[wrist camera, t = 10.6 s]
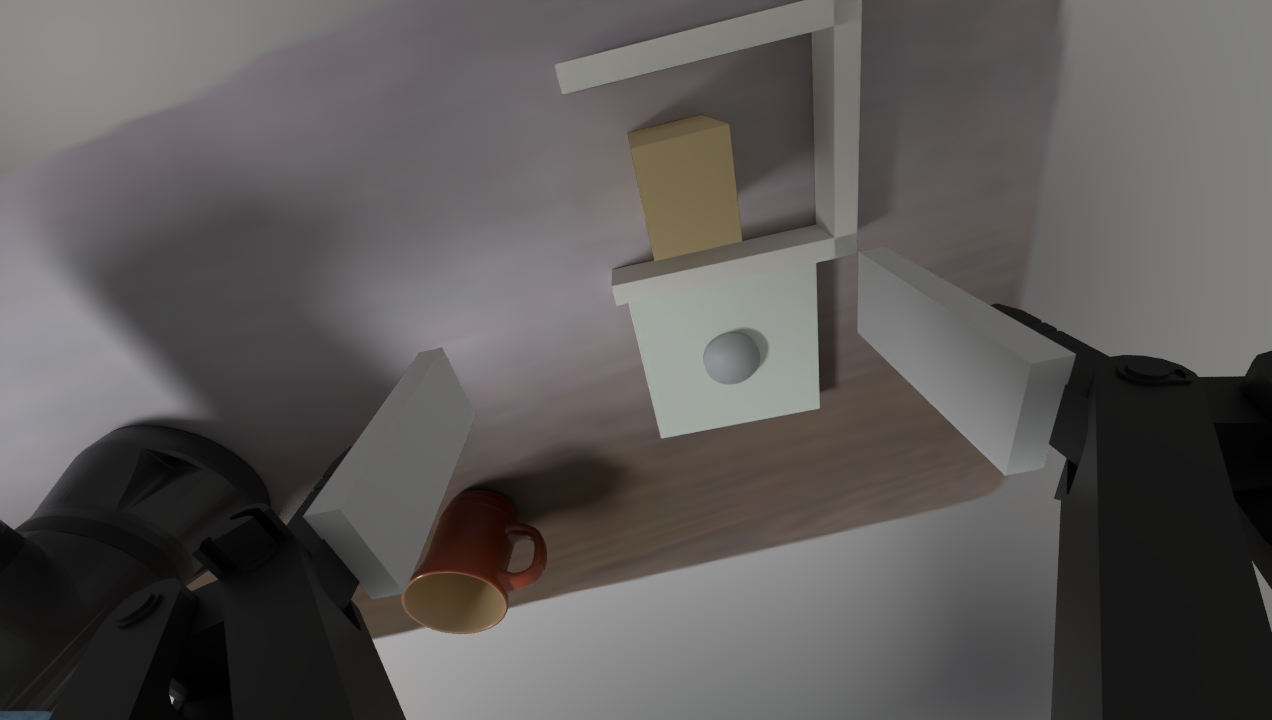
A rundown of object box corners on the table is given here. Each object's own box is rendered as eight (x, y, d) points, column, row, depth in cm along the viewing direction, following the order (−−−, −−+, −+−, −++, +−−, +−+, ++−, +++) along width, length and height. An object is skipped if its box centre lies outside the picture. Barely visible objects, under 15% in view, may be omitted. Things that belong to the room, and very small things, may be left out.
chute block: (645, 221, 35) (654, 261, 27) (627, 133, 32) (630, 148, 24) (713, 205, 34) (742, 241, 26) (701, 114, 31) (729, 124, 23)
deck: (651, 426, 44) (654, 451, 41) (560, 66, 30) (554, 64, 26) (836, 390, 43) (853, 413, 40) (836, -5, 28) (862, -15, 25)
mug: (462, 545, 51) (430, 641, 42) (424, 488, 47) (380, 583, 38) (568, 523, 50) (558, 617, 41) (539, 463, 46) (521, 554, 37)
